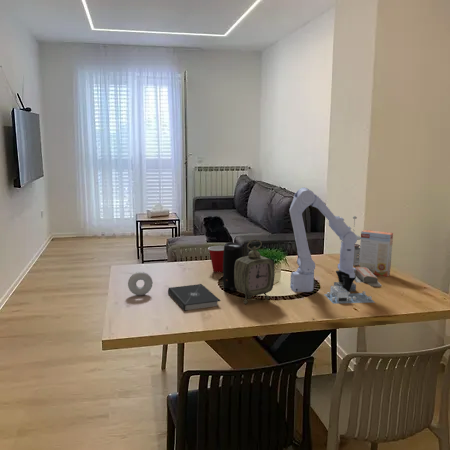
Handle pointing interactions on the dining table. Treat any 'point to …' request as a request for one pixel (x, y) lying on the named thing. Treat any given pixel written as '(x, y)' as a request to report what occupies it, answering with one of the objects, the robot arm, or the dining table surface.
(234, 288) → the portable speaker
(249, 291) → the tabletop clock
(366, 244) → the cracker box
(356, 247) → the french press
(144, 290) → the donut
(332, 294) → the seated drive
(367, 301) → the drive tray
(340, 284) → the loose drive
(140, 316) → the dining table surface
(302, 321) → the dining table surface
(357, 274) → the packaged product
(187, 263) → the dining table surface
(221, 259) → the plastic cup
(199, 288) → the book
